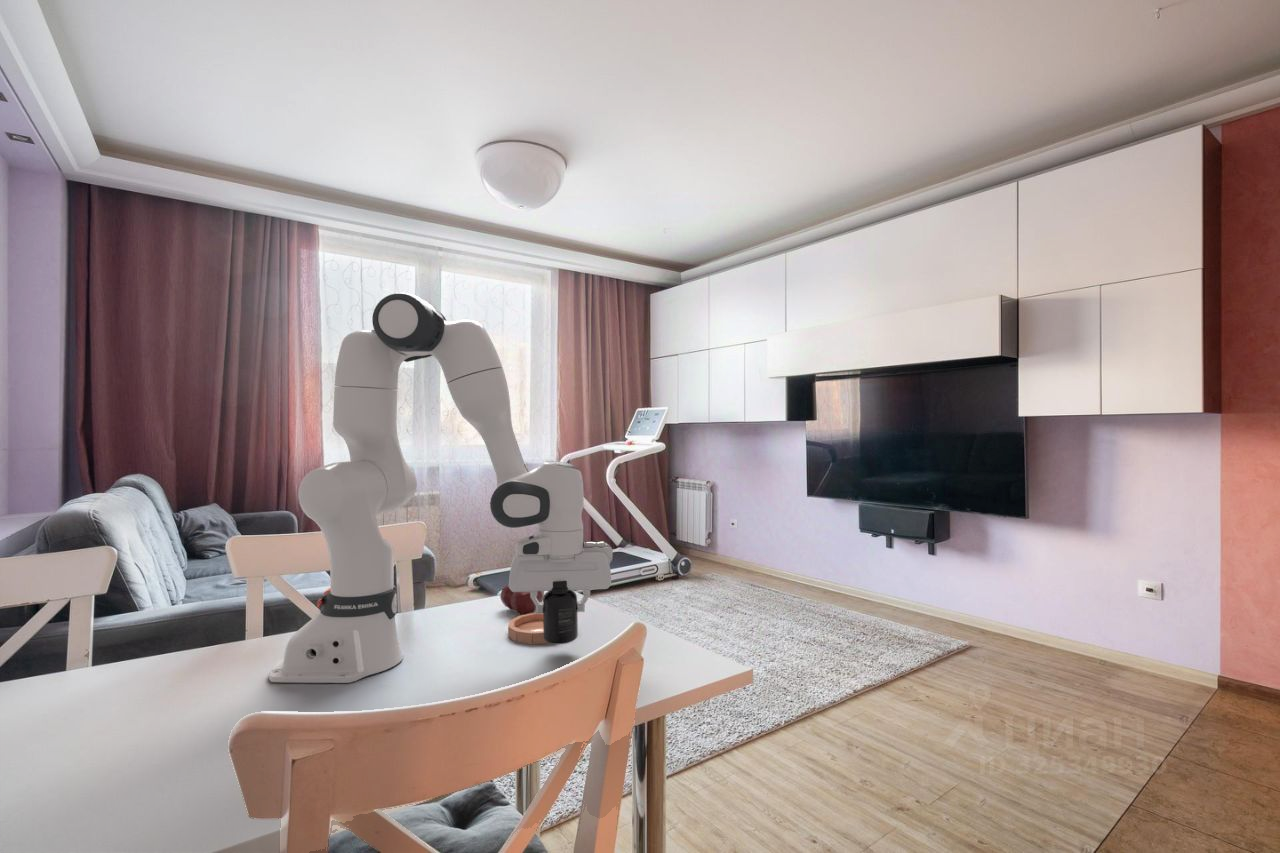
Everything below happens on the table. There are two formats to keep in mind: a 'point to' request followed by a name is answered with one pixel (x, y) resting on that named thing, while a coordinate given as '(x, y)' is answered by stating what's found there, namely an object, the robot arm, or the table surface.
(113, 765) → the table surface
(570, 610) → the supplement bottle
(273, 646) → the table surface
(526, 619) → the tray
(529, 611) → the heart
